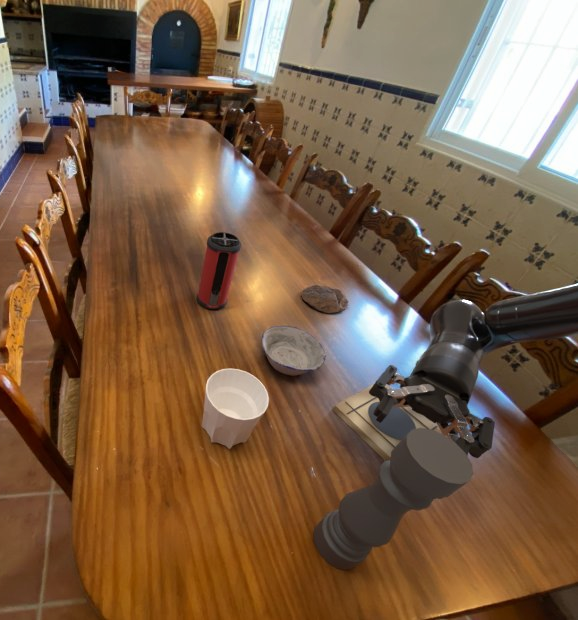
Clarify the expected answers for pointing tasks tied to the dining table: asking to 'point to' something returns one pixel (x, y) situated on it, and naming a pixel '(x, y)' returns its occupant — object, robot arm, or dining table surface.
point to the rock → (325, 298)
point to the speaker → (218, 270)
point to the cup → (233, 406)
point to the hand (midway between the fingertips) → (414, 439)
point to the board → (390, 430)
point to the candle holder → (392, 497)
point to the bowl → (292, 350)
